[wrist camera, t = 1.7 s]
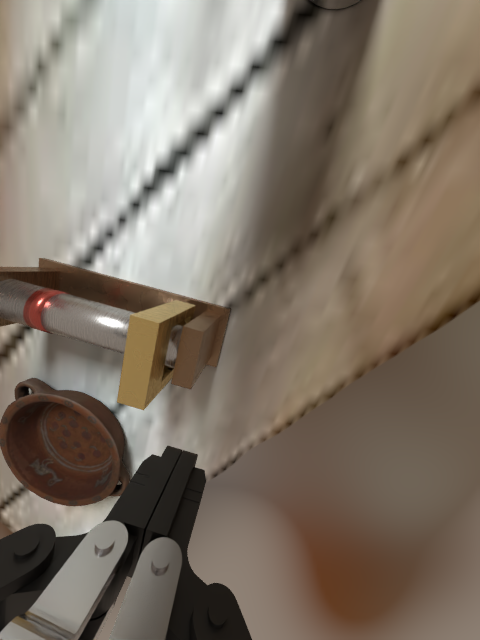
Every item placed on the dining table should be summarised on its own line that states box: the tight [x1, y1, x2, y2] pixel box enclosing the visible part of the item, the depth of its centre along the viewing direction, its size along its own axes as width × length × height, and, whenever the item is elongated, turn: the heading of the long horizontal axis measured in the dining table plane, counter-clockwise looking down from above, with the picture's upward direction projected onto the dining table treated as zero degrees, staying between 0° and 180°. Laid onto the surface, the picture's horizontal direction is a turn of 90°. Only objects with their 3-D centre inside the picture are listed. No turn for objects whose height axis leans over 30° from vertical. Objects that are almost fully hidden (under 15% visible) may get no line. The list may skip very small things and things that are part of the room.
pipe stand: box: [0, 258, 231, 389], centre depth 28 cm, size 26×8×9 cm, turn 76°
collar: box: [117, 300, 196, 410], centre depth 24 cm, size 2×8×10 cm, turn 165°
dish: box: [0, 378, 130, 506], centre depth 35 cm, size 18×22×5 cm
